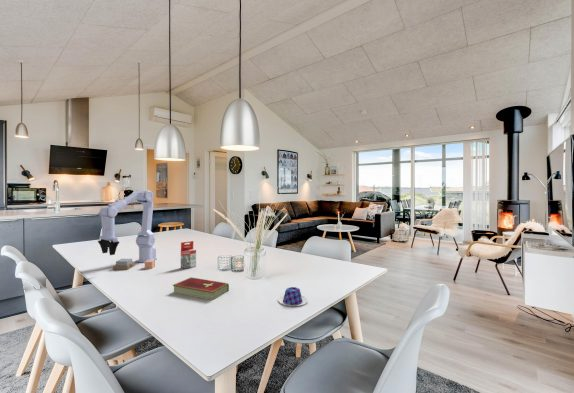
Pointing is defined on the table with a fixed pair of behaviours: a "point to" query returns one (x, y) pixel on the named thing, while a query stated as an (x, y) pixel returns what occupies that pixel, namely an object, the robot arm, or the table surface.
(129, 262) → the top block
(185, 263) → the ink box
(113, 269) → the base block
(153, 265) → the cube
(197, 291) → the hardcover book
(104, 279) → the table surface
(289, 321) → the table surface
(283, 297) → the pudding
